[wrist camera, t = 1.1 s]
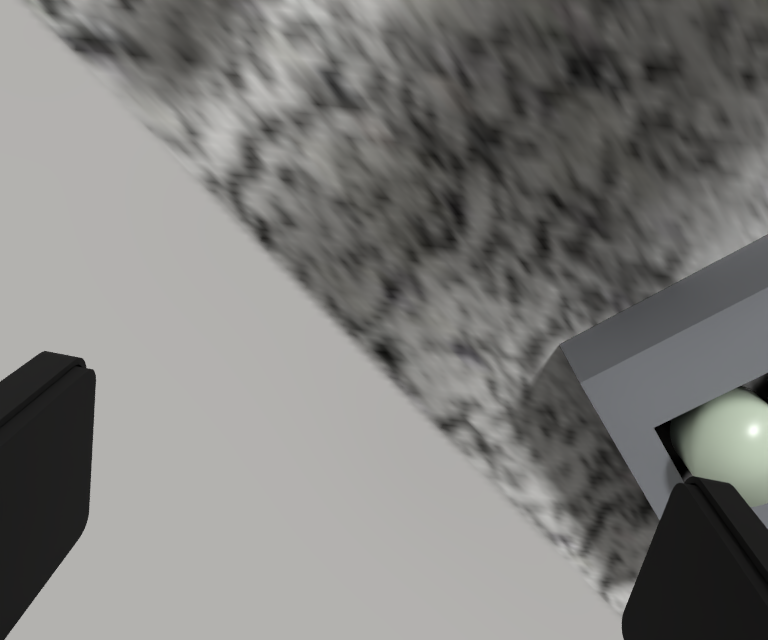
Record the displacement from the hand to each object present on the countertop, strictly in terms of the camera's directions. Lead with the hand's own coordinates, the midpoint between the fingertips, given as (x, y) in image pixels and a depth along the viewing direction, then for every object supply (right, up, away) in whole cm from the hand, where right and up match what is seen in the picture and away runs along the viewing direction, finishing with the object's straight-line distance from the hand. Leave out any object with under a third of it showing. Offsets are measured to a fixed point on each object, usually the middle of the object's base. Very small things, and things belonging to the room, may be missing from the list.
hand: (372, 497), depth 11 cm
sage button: (+18, -3, +24) cm, 30 cm away
